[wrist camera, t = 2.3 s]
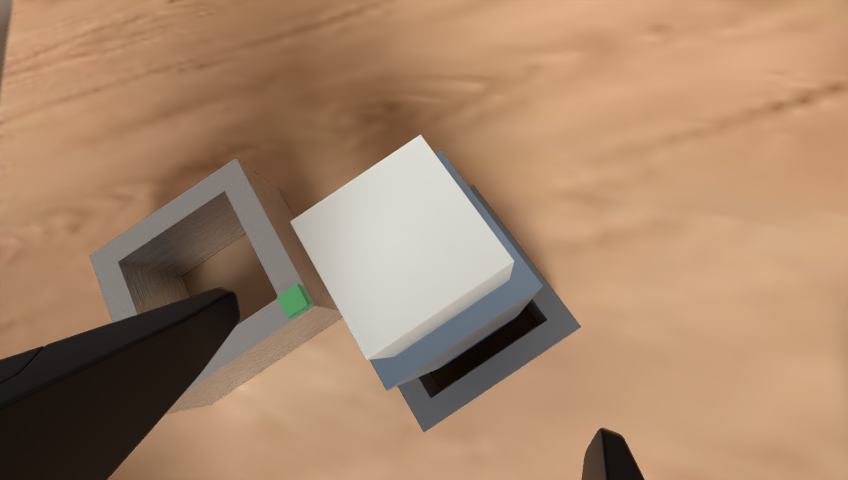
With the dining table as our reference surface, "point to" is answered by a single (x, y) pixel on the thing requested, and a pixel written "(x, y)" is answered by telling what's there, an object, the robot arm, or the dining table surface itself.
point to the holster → (551, 329)
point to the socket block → (200, 239)
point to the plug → (414, 263)
